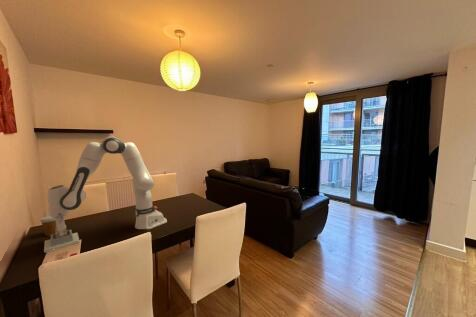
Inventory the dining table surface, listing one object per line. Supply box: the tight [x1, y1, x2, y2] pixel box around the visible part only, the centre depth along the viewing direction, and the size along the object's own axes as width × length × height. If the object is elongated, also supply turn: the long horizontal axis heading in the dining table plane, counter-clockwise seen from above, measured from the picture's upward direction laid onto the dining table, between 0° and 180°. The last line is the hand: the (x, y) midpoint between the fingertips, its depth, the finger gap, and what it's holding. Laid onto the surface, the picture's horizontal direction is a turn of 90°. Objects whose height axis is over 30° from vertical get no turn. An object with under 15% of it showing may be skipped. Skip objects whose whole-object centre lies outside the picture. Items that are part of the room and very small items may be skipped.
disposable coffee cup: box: [40, 214, 56, 237], centre depth 137 cm, size 10×10×12 cm
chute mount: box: [43, 229, 80, 254], centre depth 125 cm, size 16×15×6 cm
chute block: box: [55, 224, 68, 238], centre depth 125 cm, size 5×5×9 cm
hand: (61, 232), depth 125 cm, fingers open, 8 cm apart
